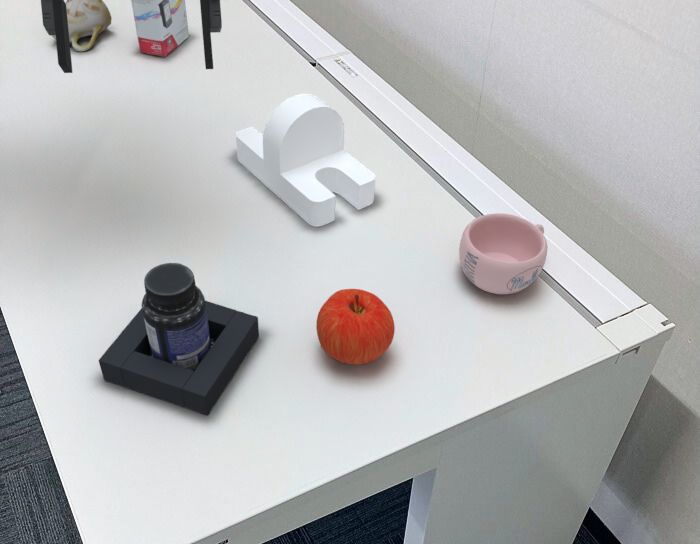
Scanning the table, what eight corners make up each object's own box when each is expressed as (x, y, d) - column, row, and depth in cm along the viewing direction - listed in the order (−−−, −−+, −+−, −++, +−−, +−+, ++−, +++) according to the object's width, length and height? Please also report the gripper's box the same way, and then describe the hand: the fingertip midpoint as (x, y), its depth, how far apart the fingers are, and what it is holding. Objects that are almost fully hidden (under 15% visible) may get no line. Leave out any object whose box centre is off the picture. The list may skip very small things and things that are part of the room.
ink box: (164, 59, 124) (154, -17, 115) (137, 52, 125) (125, -23, 116) (191, 36, 130) (183, -37, 121) (164, 30, 131) (155, -43, 122)
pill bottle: (220, 342, 83) (211, 264, 74) (200, 384, 78) (188, 306, 70) (166, 330, 83) (151, 252, 75) (143, 371, 79) (125, 293, 71)
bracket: (234, 157, 106) (228, 80, 98) (294, 135, 111) (294, 59, 102) (314, 229, 96) (316, 150, 88) (377, 201, 101) (384, 124, 93)
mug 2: (496, 317, 87) (506, 278, 83) (437, 269, 92) (444, 230, 88) (566, 276, 93) (579, 238, 88) (507, 233, 98) (516, 195, 93)
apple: (300, 351, 82) (300, 296, 76) (350, 313, 87) (354, 259, 81) (356, 391, 79) (360, 337, 73) (405, 350, 83) (413, 296, 77)
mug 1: (39, 44, 126) (42, -22, 123) (92, 54, 133) (96, -8, 130) (64, 48, 121) (67, -21, 118) (117, 58, 129) (122, -6, 126)
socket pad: (103, 379, 78) (98, 360, 76) (163, 305, 86) (159, 286, 84) (207, 415, 76) (205, 396, 74) (259, 336, 83) (258, 316, 81)
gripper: (248, -136, 79) (265, 74, 80) (-8, -139, 75) (14, 81, 77) (250, -182, 72) (268, 51, 73) (-34, -188, 68) (-9, 57, 69)
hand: (138, 67), depth 75 cm, fingers open, 13 cm apart
